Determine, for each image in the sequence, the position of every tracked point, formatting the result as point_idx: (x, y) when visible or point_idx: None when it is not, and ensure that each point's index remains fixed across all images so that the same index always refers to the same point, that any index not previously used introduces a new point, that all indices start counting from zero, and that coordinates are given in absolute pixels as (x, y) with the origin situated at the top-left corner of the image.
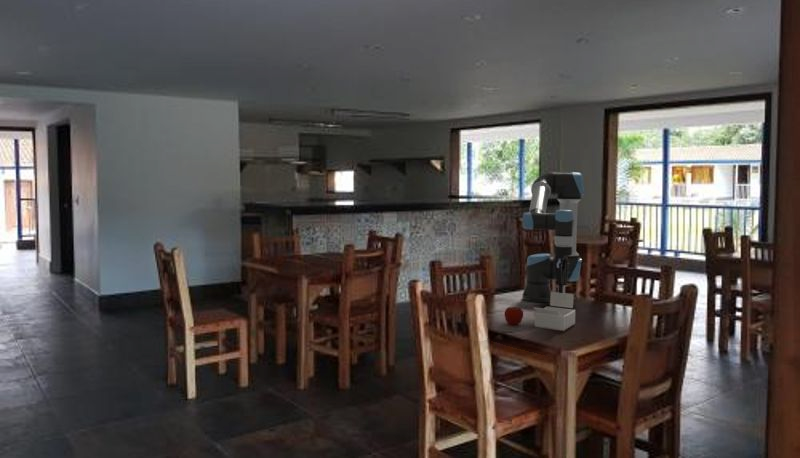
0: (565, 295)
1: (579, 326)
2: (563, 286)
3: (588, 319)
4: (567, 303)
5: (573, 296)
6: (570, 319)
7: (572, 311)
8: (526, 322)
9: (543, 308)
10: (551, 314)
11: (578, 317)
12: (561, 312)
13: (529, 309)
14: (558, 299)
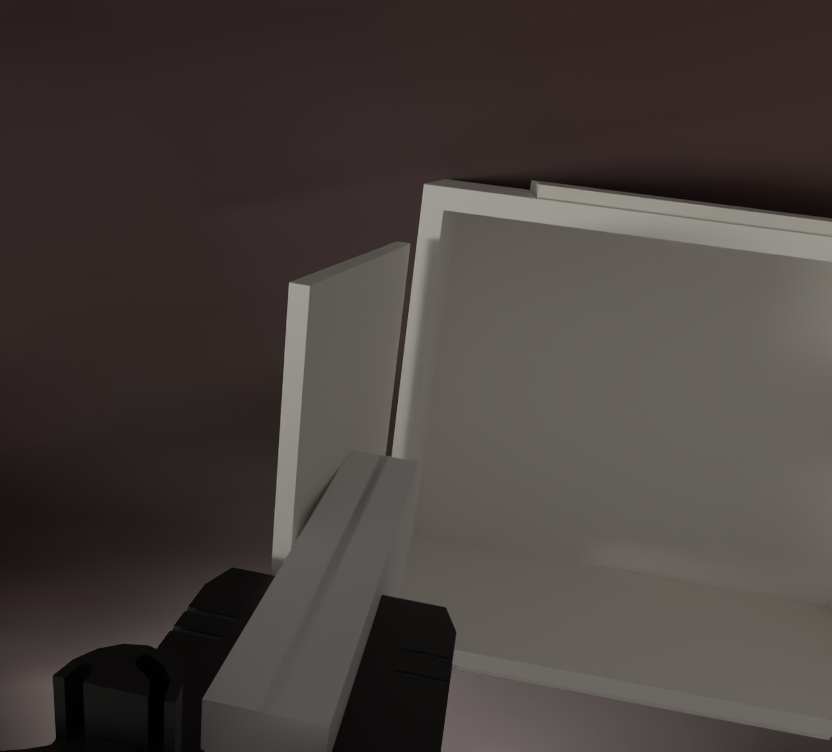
0: (315, 485)
1: (580, 87)
2: (332, 724)
3: (88, 46)
4: (375, 367)
5: (323, 274)
6: (739, 208)
7: (587, 213)
8: (631, 711)
9: (548, 679)
10: (411, 523)
11: (55, 202)
12: (423, 408)
13: (12, 749)
14: (401, 571)
